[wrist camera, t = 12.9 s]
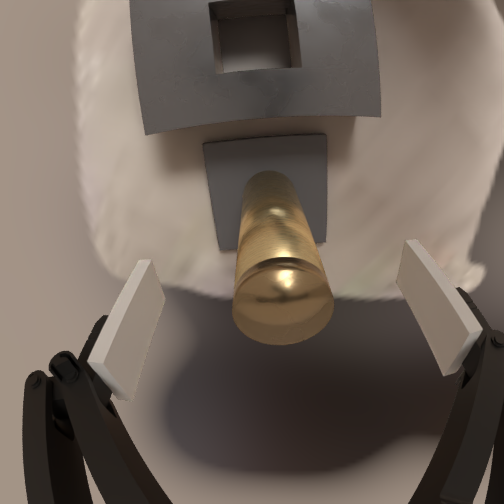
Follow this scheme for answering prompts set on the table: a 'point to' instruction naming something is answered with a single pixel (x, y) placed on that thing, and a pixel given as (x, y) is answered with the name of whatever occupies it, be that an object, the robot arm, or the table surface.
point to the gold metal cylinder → (278, 266)
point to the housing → (253, 81)
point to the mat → (266, 159)
